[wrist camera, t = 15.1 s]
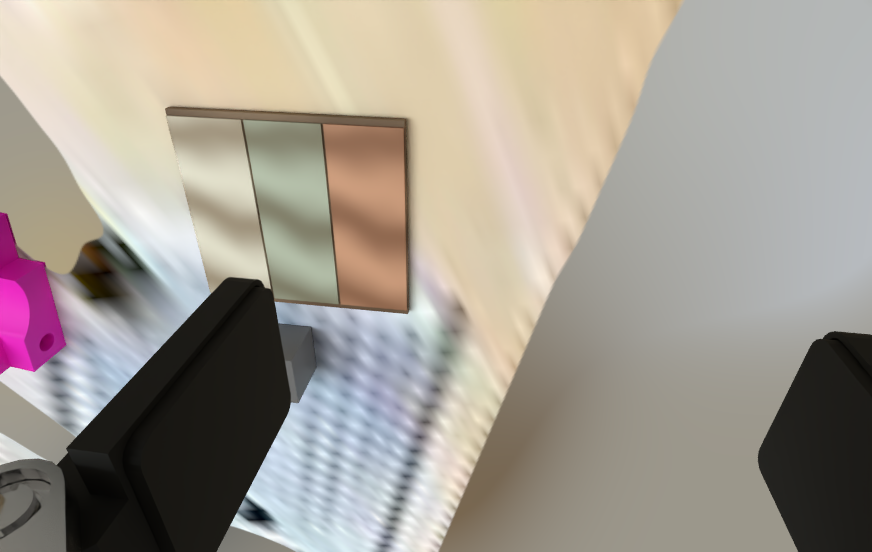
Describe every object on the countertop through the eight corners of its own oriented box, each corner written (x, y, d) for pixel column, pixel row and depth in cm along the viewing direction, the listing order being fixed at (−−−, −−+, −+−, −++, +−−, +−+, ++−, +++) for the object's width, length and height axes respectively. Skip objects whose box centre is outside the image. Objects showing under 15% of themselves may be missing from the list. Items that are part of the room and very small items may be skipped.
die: (260, 322, 50) (236, 356, 45) (311, 327, 49) (290, 361, 45) (268, 362, 52) (246, 397, 48) (316, 367, 52) (297, 404, 47)
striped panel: (169, 106, 40) (163, 109, 39) (405, 118, 38) (403, 121, 37) (215, 292, 49) (210, 296, 48) (409, 310, 47) (407, 315, 46)
